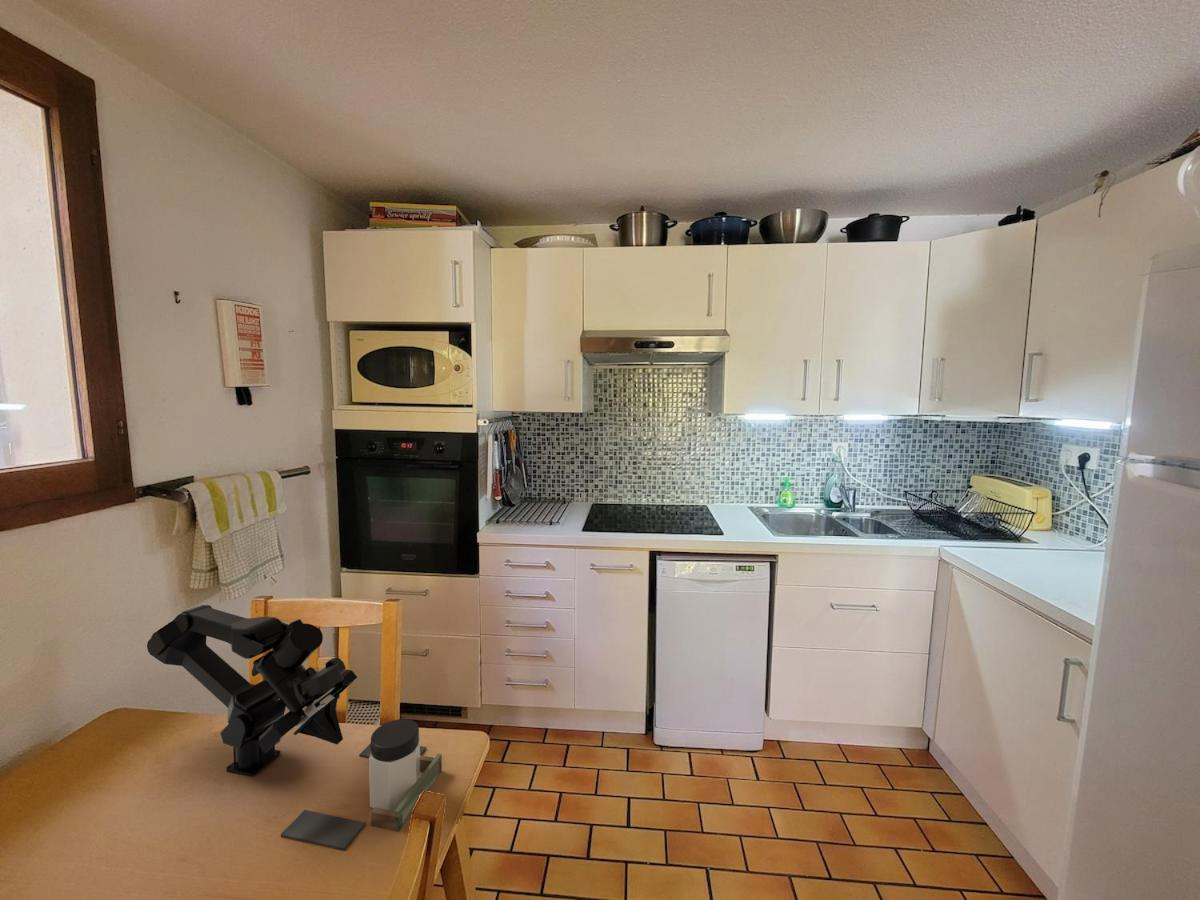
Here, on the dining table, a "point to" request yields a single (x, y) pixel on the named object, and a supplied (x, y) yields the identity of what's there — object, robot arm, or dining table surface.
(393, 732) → the jar
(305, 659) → the robot arm
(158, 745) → the dining table surface
